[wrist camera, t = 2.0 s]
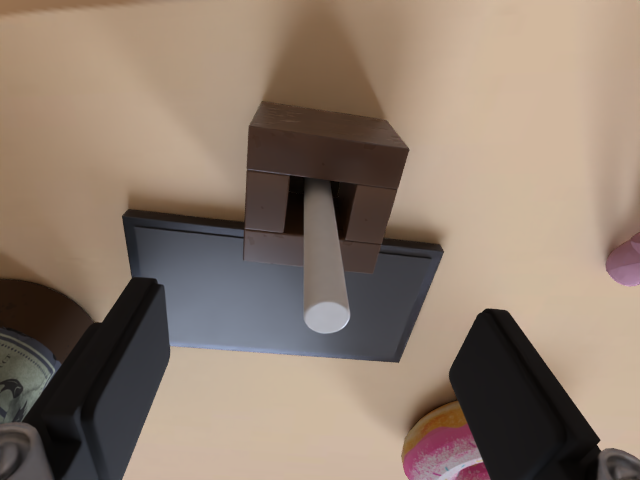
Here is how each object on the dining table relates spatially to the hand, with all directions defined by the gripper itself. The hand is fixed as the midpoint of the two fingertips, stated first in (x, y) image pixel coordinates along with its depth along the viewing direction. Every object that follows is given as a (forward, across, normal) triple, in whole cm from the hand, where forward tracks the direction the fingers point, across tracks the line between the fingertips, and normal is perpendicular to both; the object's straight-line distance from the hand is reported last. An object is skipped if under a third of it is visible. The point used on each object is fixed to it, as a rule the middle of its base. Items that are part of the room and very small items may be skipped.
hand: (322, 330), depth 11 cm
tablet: (+12, +1, +9) cm, 15 cm away
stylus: (+12, 0, -1) cm, 12 cm away
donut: (+13, -19, +24) cm, 33 cm away
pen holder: (+12, 0, -1) cm, 12 cm away
